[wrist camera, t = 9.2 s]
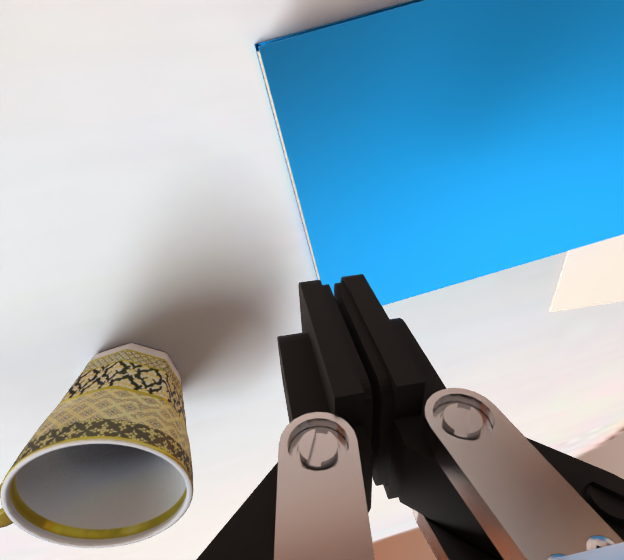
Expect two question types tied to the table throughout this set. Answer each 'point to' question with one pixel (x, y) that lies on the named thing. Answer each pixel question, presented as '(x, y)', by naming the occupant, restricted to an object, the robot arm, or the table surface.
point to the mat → (591, 276)
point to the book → (452, 137)
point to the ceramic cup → (106, 456)
